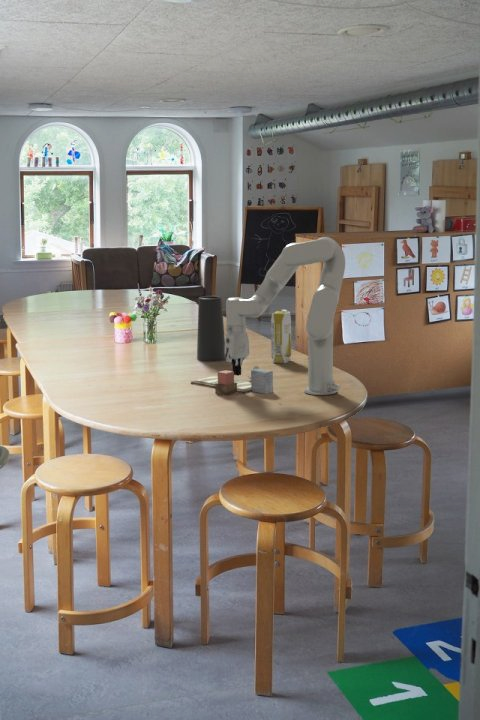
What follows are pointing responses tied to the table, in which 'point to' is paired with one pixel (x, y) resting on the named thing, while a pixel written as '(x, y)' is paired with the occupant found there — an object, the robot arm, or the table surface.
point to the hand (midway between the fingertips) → (236, 374)
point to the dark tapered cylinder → (210, 329)
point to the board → (210, 382)
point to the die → (225, 377)
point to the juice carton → (281, 336)
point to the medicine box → (262, 381)
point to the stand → (225, 389)
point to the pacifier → (254, 369)
